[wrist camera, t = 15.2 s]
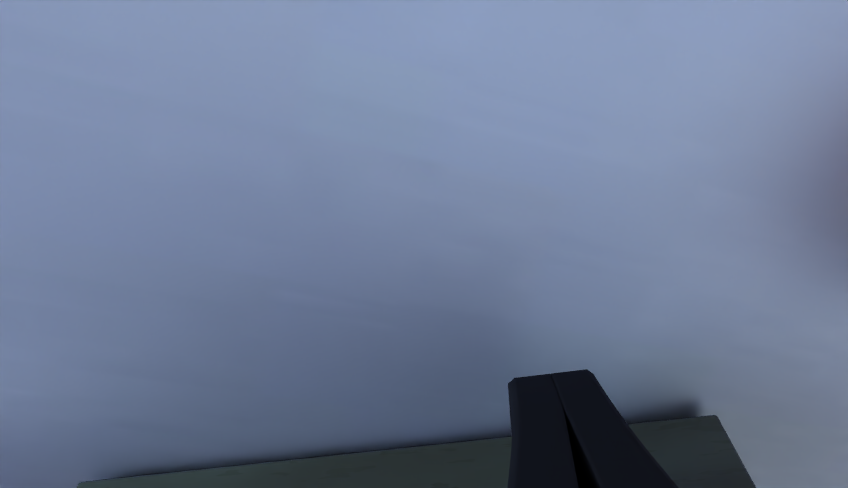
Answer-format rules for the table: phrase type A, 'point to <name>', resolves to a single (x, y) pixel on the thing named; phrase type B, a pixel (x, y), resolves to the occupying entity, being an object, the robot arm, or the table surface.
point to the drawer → (463, 464)
